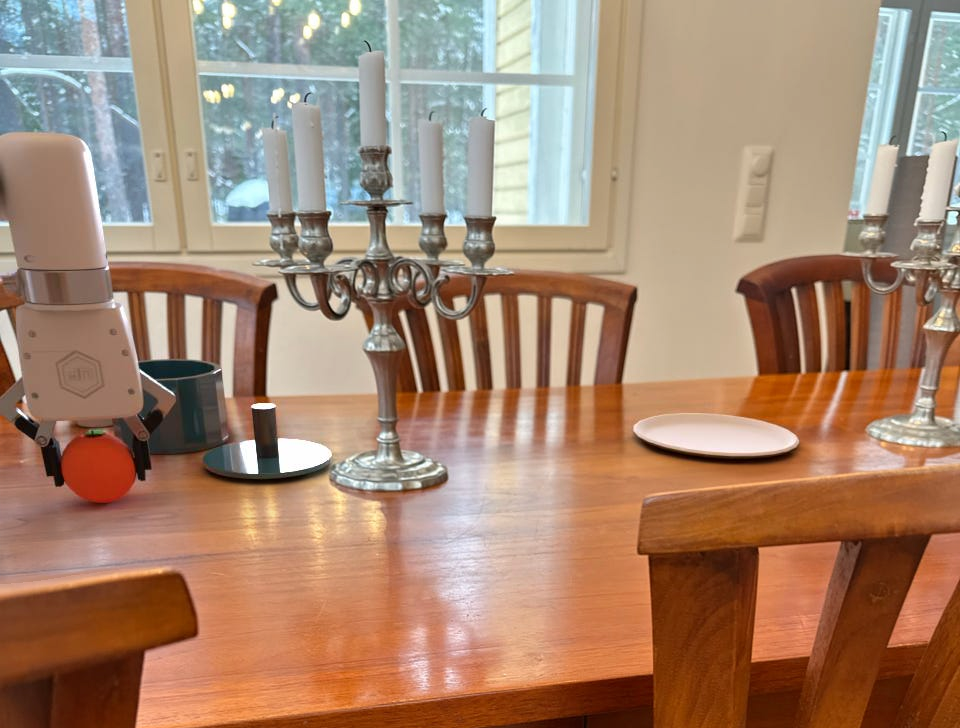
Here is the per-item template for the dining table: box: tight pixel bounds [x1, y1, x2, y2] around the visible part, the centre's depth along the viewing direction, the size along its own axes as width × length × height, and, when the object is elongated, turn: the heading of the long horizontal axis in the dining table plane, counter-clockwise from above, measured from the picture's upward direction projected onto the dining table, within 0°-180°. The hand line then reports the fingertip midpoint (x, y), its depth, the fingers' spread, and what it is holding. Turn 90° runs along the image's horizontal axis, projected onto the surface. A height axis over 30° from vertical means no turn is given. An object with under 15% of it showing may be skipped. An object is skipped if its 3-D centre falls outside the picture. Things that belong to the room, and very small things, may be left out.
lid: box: [202, 403, 332, 480], centre depth 100 cm, size 14×14×7 cm
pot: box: [112, 358, 230, 455], centre depth 108 cm, size 13×19×8 cm
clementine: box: [61, 429, 137, 504], centre depth 88 cm, size 8×7×7 cm
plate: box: [632, 412, 800, 460], centre depth 115 cm, size 21×21×1 cm
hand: (101, 478), depth 89 cm, fingers closed on clementine, 7 cm apart
